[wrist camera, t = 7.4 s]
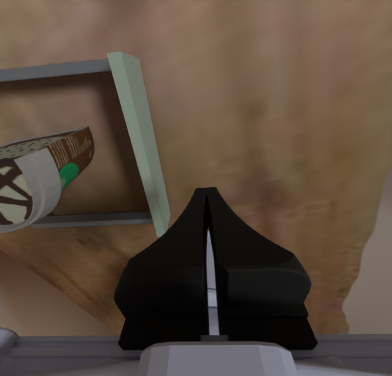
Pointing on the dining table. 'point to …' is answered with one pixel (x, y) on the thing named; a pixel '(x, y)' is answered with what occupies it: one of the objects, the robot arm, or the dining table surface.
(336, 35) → the dining table surface
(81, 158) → the food container
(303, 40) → the dining table surface
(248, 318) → the robot arm
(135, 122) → the grey u-shaped frame
